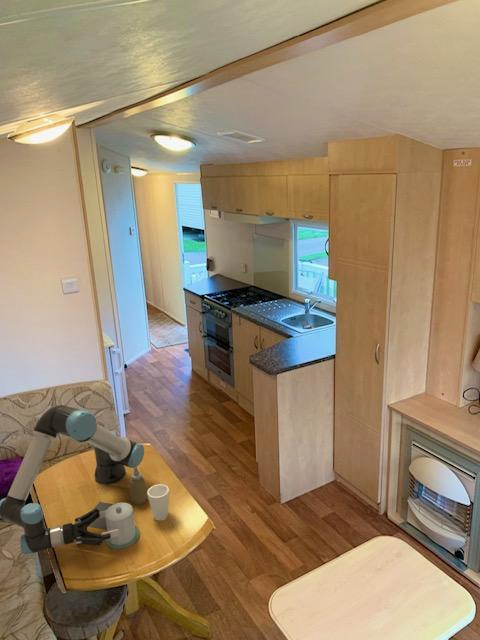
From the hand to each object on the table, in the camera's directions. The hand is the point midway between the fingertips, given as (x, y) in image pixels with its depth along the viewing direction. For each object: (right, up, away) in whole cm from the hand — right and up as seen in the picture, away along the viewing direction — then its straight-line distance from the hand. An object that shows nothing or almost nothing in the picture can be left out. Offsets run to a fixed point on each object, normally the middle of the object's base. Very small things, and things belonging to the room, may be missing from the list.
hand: (117, 521), depth 204 cm
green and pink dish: (+1, -8, +3) cm, 9 cm away
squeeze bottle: (+4, -1, +26) cm, 26 cm away
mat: (-10, -4, +17) cm, 20 cm away
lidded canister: (+1, -7, +3) cm, 8 cm away
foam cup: (+16, -4, +15) cm, 22 cm away
